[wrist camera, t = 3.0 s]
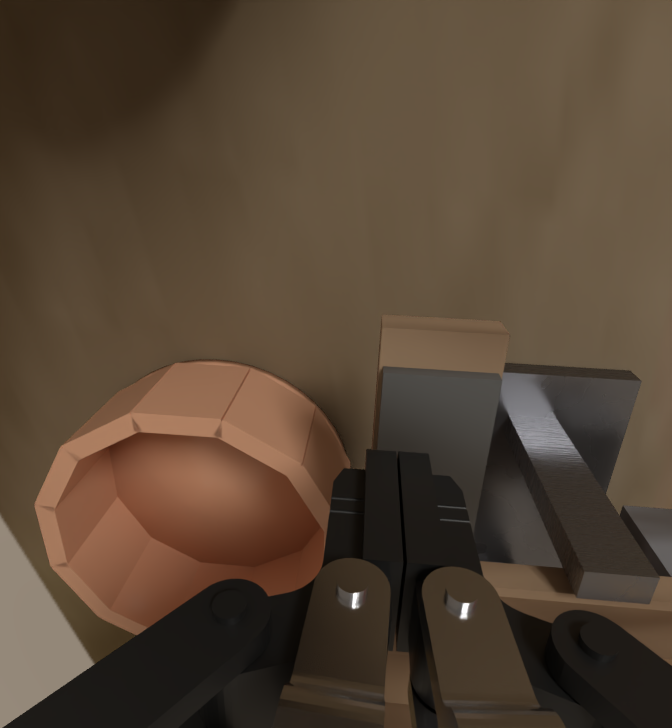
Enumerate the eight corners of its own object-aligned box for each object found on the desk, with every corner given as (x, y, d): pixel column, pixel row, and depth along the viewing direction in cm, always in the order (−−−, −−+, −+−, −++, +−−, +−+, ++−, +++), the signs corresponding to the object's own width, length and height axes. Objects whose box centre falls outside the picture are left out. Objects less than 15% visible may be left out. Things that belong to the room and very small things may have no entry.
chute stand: (441, 359, 22) (484, 504, 13) (630, 370, 21) (806, 529, 13) (410, 591, 27) (426, 802, 19) (558, 605, 27) (645, 826, 18)
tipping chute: (380, 276, 16) (382, 353, 10) (793, 298, 16) (1052, 394, 10) (356, 602, 23) (349, 770, 16) (653, 629, 22) (758, 813, 16)
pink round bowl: (82, 350, 23) (7, 404, 18) (356, 368, 22) (350, 428, 18) (121, 557, 28) (70, 639, 23) (344, 576, 27) (337, 665, 23)
